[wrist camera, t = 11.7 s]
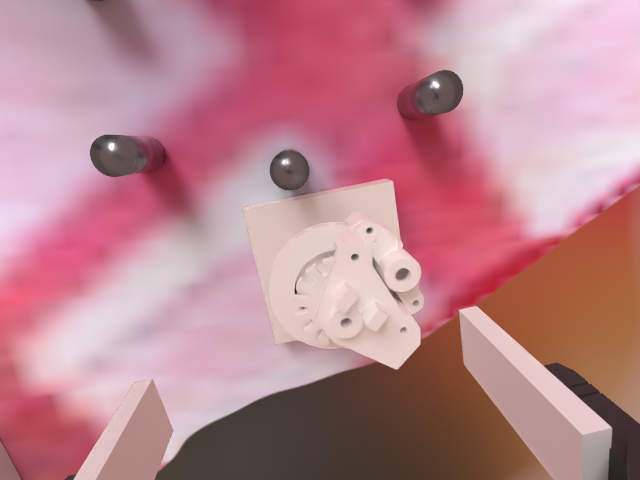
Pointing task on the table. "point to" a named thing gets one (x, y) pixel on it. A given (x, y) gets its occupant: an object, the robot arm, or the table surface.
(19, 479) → the storage bin
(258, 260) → the parts stand
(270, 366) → the table surface
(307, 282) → the mechanical part
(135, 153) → the standoff posts
